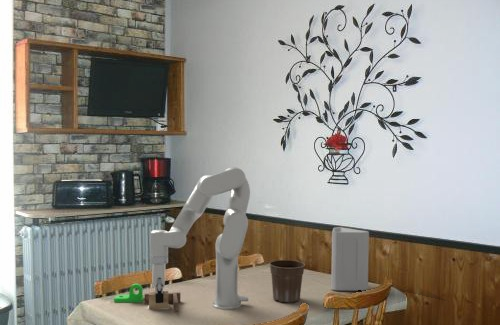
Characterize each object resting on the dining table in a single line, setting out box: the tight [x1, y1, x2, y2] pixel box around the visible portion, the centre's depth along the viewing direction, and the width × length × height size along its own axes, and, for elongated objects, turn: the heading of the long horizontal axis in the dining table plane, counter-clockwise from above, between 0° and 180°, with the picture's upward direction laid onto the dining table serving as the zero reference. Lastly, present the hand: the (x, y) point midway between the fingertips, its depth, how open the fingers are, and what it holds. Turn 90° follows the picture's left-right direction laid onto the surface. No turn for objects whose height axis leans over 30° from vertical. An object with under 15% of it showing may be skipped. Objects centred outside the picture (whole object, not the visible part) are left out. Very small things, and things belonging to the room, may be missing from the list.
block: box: [148, 290, 169, 310], centre depth 231 cm, size 5×8×6 cm, turn 99°
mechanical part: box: [113, 283, 144, 303], centre depth 240 cm, size 12×6×8 cm, turn 95°
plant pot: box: [268, 259, 306, 304], centre depth 245 cm, size 16×16×16 cm
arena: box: [143, 291, 181, 313], centre depth 231 cm, size 16×16×4 cm
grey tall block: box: [330, 226, 370, 292], centre depth 267 cm, size 19×15×28 cm
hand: (159, 299), depth 231 cm, fingers open, 9 cm apart
